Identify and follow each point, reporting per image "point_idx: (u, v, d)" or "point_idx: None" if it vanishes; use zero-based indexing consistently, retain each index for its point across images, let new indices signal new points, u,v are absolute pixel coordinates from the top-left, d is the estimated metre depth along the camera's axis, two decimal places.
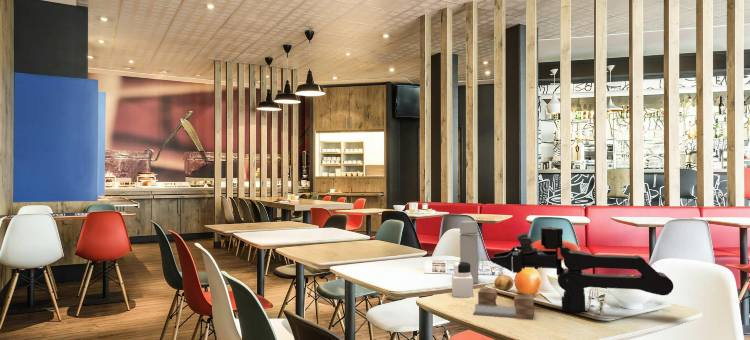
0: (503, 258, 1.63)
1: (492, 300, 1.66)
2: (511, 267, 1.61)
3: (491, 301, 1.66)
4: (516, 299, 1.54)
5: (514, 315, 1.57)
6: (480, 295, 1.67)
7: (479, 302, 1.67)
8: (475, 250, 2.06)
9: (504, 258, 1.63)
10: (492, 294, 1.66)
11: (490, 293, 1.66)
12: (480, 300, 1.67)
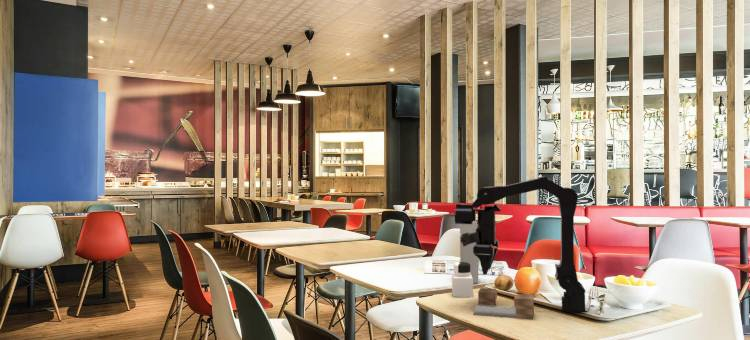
0: (481, 261, 1.64)
1: (492, 300, 1.66)
2: (488, 255, 1.61)
3: (491, 301, 1.66)
4: (516, 299, 1.54)
5: (514, 315, 1.57)
6: (480, 295, 1.67)
7: (479, 302, 1.67)
8: None
9: (481, 260, 1.64)
10: (492, 294, 1.66)
11: (490, 293, 1.66)
12: (480, 300, 1.67)
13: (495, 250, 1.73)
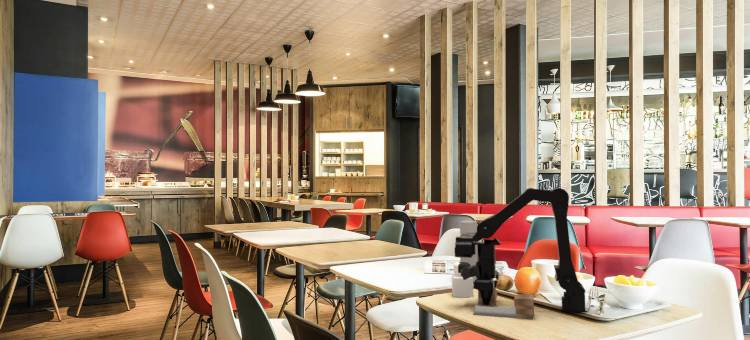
0: (482, 295, 1.65)
1: (492, 300, 1.66)
2: None
3: (491, 301, 1.66)
4: (516, 299, 1.54)
5: (514, 315, 1.57)
6: (479, 295, 1.67)
7: (479, 302, 1.67)
8: None
9: (482, 294, 1.65)
10: (492, 294, 1.66)
11: None
12: (480, 300, 1.67)
13: (495, 283, 1.72)
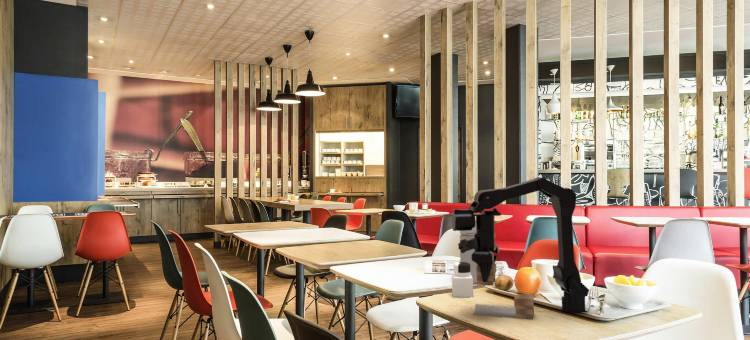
0: (481, 268, 1.56)
1: (491, 274, 1.57)
2: (488, 261, 1.54)
3: (490, 275, 1.57)
4: (516, 299, 1.54)
5: (514, 315, 1.57)
6: (478, 268, 1.58)
7: (477, 276, 1.58)
8: None
9: (481, 267, 1.56)
10: None
11: None
12: (478, 274, 1.58)
13: (494, 257, 1.63)
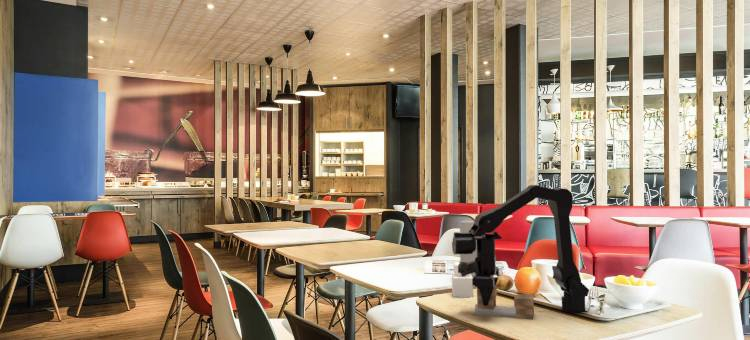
0: (481, 292, 1.56)
1: (492, 298, 1.57)
2: None
3: (491, 299, 1.57)
4: (516, 299, 1.54)
5: (514, 315, 1.57)
6: (479, 292, 1.58)
7: (478, 300, 1.58)
8: (475, 250, 2.06)
9: (482, 291, 1.56)
10: (492, 291, 1.57)
11: None
12: (479, 298, 1.58)
13: (495, 280, 1.63)
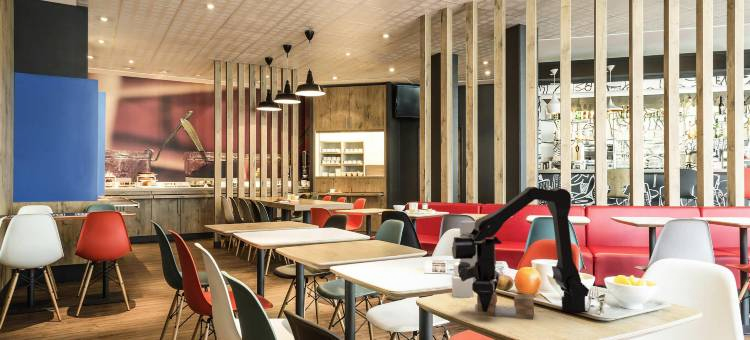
0: (481, 298, 1.55)
1: (492, 304, 1.57)
2: (488, 292, 1.52)
3: (491, 306, 1.57)
4: (516, 299, 1.54)
5: (514, 315, 1.57)
6: (479, 299, 1.58)
7: (478, 307, 1.58)
8: None
9: (481, 297, 1.55)
10: (492, 298, 1.57)
11: None
12: (479, 304, 1.58)
13: (495, 284, 1.64)
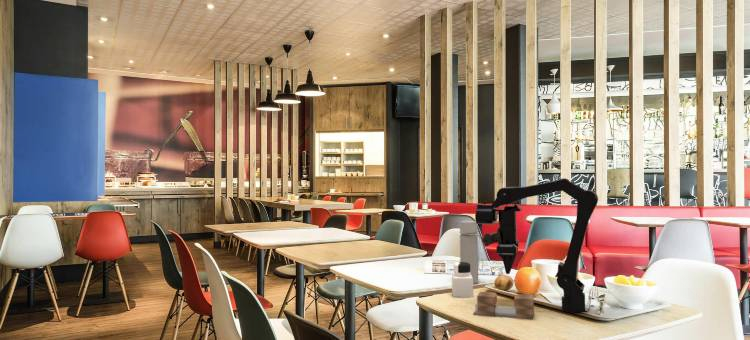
0: (504, 261, 1.65)
1: (492, 304, 1.57)
2: (511, 254, 1.63)
3: (491, 306, 1.57)
4: (516, 299, 1.54)
5: (514, 315, 1.57)
6: (479, 299, 1.58)
7: (478, 307, 1.58)
8: (475, 250, 2.06)
9: (504, 260, 1.65)
10: (492, 298, 1.57)
11: (490, 297, 1.57)
12: (479, 304, 1.58)
13: None
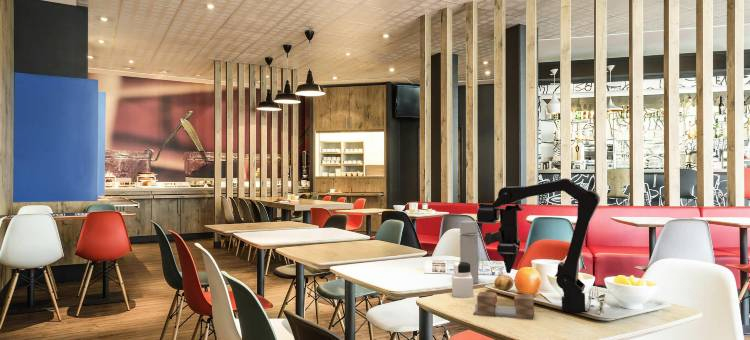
0: (505, 260, 1.66)
1: (492, 304, 1.57)
2: (512, 253, 1.64)
3: (491, 306, 1.57)
4: (516, 299, 1.54)
5: (514, 315, 1.57)
6: (479, 299, 1.58)
7: (478, 307, 1.58)
8: (475, 250, 2.06)
9: (505, 259, 1.66)
10: (492, 298, 1.57)
11: (490, 297, 1.57)
12: (479, 304, 1.58)
13: (517, 249, 1.76)
